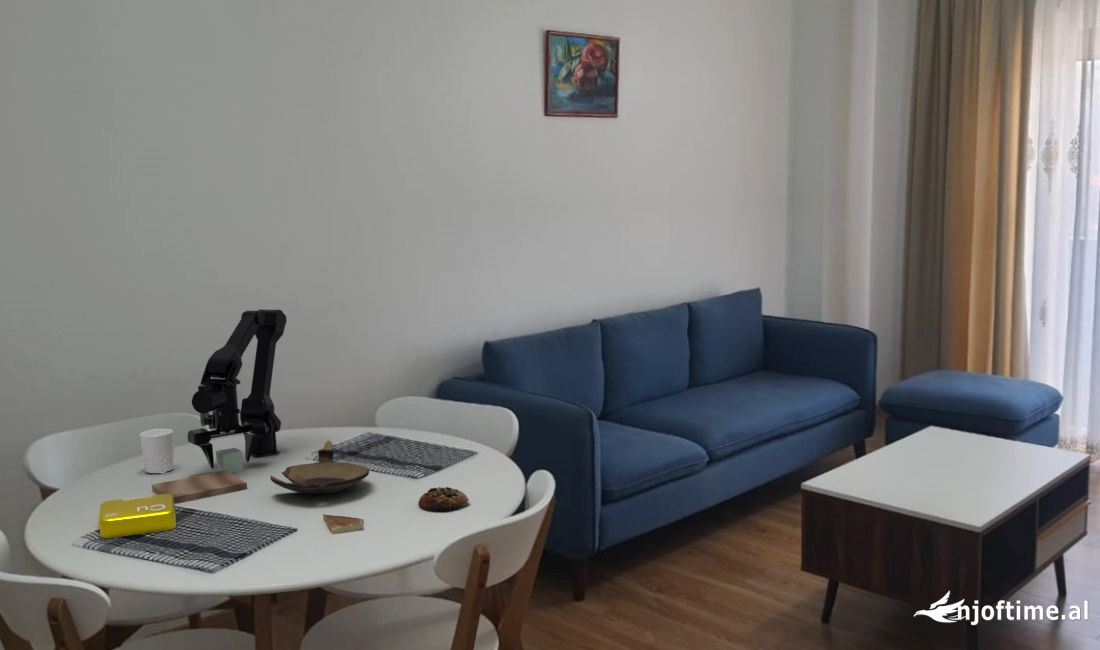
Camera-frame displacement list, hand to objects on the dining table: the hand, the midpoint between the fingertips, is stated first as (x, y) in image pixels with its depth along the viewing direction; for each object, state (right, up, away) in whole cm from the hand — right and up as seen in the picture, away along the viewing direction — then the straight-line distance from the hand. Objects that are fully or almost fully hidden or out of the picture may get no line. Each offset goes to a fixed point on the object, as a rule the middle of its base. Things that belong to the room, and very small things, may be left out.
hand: (229, 464), depth 270 cm
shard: (+37, -8, -46) cm, 59 cm away
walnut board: (-2, -4, -16) cm, 17 cm away
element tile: (-7, -8, -40) cm, 42 cm away
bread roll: (+58, -5, -32) cm, 66 cm away
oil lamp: (+28, -3, -17) cm, 33 cm away
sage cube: (0, -1, 0) cm, 1 cm away
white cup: (-18, -2, +1) cm, 18 cm away
